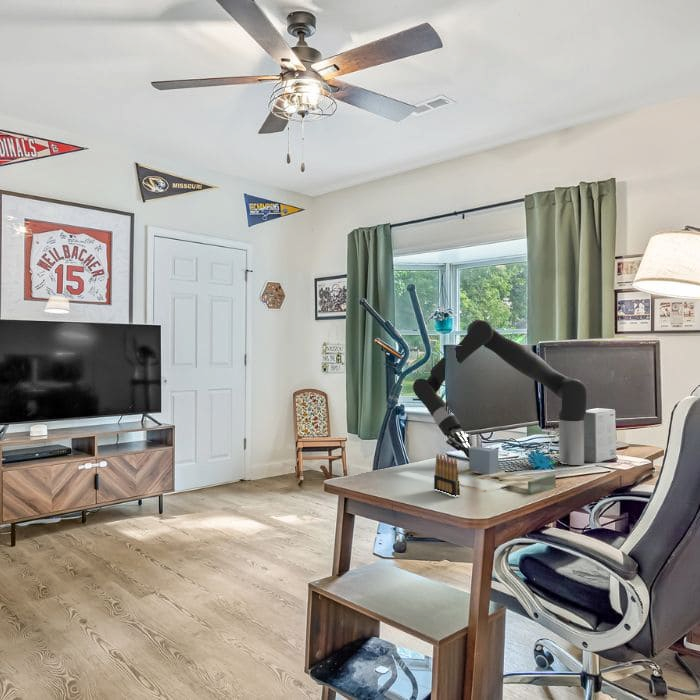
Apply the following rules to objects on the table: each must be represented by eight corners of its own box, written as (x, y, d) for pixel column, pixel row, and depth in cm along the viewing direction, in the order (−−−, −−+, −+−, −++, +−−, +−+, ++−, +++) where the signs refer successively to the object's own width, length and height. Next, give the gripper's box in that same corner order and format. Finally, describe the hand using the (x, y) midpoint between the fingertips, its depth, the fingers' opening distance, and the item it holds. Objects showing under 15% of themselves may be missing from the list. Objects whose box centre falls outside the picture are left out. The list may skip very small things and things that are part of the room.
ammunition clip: (433, 490, 181) (433, 453, 181) (438, 489, 182) (438, 452, 182) (455, 498, 172) (455, 459, 172) (460, 497, 173) (459, 458, 172)
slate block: (469, 469, 203) (469, 447, 203) (477, 467, 206) (477, 446, 206) (489, 474, 196) (489, 451, 196) (498, 472, 199) (498, 449, 199)
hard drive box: (599, 455, 234) (598, 407, 234) (616, 458, 228) (616, 409, 228) (577, 460, 225) (577, 410, 225) (595, 463, 219) (595, 412, 219)
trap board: (449, 475, 200) (449, 464, 200) (477, 469, 210) (477, 458, 210) (531, 494, 175) (531, 482, 175) (559, 486, 185) (558, 474, 185)
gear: (534, 470, 200) (526, 447, 207) (526, 479, 204) (519, 456, 211) (561, 473, 202) (552, 450, 209) (553, 481, 206) (545, 459, 213)
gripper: (440, 416, 208) (466, 453, 199) (463, 413, 216) (489, 449, 207) (429, 428, 212) (455, 466, 203) (452, 425, 220) (478, 461, 211)
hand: (472, 457), depth 205 cm, fingers closed
